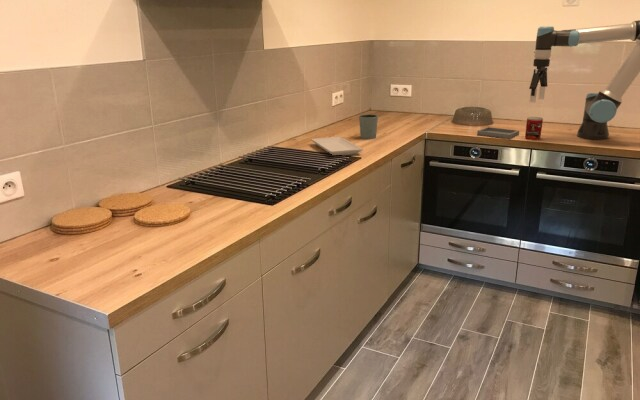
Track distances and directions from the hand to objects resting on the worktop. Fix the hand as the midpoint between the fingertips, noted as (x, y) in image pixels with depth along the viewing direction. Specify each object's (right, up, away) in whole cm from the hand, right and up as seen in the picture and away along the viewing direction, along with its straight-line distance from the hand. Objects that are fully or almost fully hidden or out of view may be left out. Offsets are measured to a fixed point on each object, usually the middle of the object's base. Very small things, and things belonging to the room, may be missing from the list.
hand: (536, 100), depth 272 cm
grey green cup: (-86, -18, +14) cm, 89 cm away
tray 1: (-105, -27, -12) cm, 109 cm away
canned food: (0, -19, +6) cm, 20 cm away
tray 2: (-15, -16, +16) cm, 27 cm away
